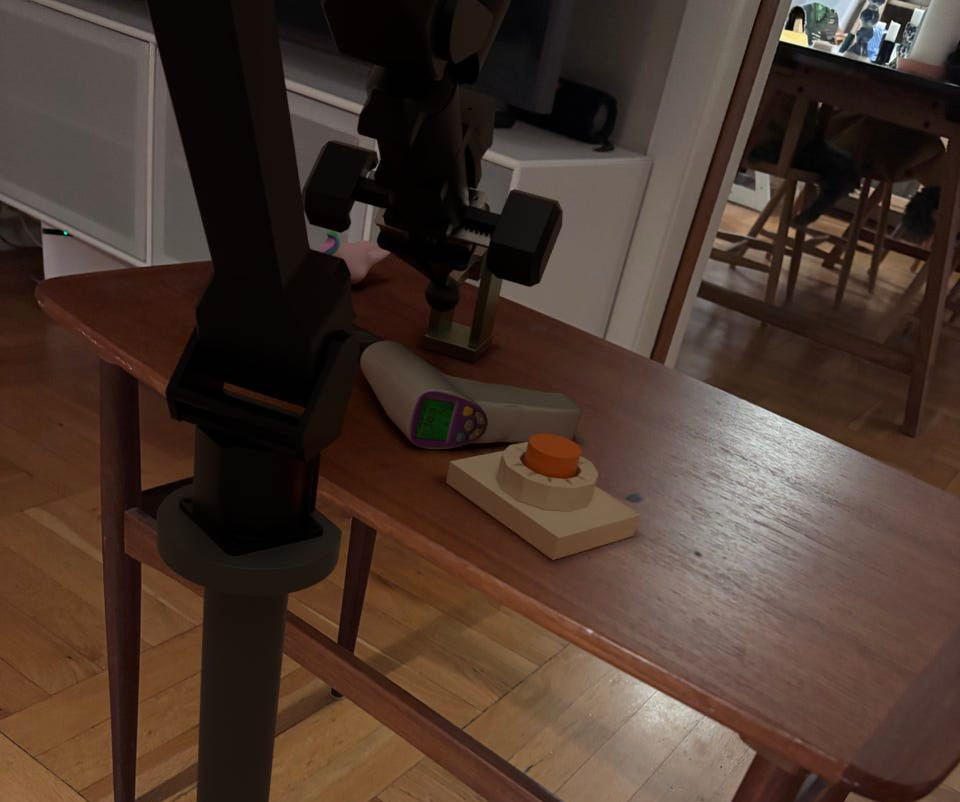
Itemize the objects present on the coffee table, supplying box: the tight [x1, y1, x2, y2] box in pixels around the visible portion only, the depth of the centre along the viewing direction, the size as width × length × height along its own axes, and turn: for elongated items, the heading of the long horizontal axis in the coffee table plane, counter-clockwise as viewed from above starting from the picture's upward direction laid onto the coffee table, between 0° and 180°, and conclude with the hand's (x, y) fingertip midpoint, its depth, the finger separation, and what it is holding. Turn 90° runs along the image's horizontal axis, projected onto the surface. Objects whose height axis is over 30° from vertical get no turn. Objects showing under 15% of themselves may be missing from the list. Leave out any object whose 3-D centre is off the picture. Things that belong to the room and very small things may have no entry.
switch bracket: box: [422, 248, 504, 364], centre depth 89 cm, size 6×6×10 cm
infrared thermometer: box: [359, 340, 583, 450], centre depth 77 cm, size 5×12×15 cm
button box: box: [445, 442, 641, 561], centre depth 67 cm, size 8×11×4 cm
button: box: [523, 434, 582, 479], centre depth 65 cm, size 4×4×2 cm
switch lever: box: [424, 246, 487, 312], centre depth 84 cm, size 11×3×3 cm, turn 163°
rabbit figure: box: [317, 230, 393, 285], centre depth 98 cm, size 6×6×15 cm
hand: (441, 280), depth 80 cm, fingers closed, pressing on switch lever
